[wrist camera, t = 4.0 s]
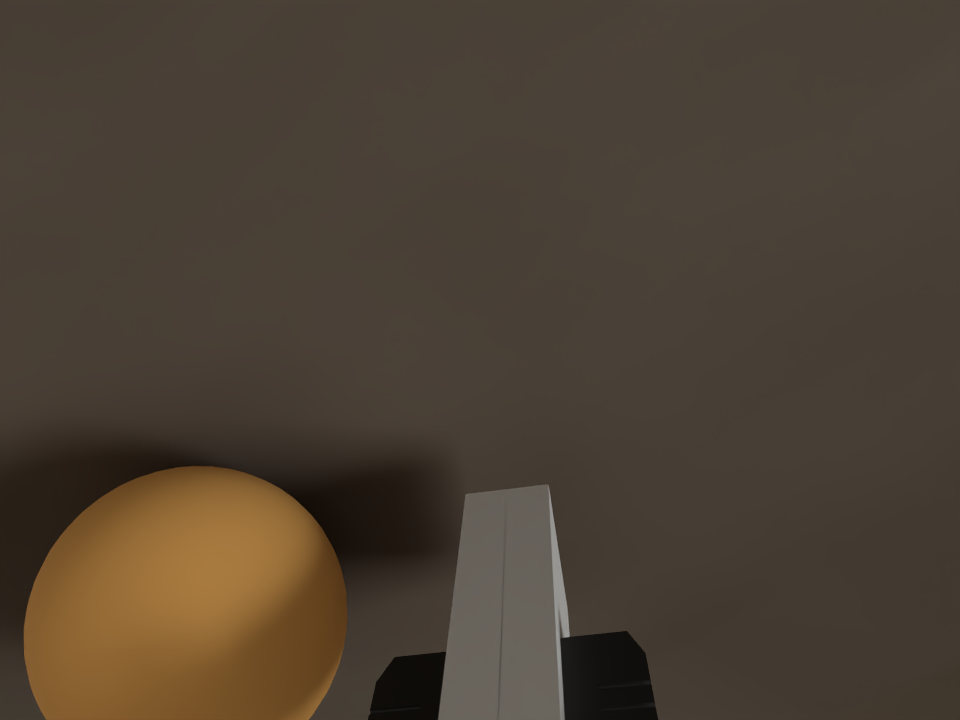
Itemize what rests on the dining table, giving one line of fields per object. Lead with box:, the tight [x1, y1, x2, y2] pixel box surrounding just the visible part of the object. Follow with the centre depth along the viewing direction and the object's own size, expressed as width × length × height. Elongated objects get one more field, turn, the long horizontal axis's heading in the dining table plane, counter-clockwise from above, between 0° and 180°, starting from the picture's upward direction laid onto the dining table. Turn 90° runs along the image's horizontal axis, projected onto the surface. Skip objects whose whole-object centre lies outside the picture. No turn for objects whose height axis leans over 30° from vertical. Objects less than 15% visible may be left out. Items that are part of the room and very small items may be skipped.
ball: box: [24, 466, 347, 720], centre depth 16 cm, size 6×6×6 cm
